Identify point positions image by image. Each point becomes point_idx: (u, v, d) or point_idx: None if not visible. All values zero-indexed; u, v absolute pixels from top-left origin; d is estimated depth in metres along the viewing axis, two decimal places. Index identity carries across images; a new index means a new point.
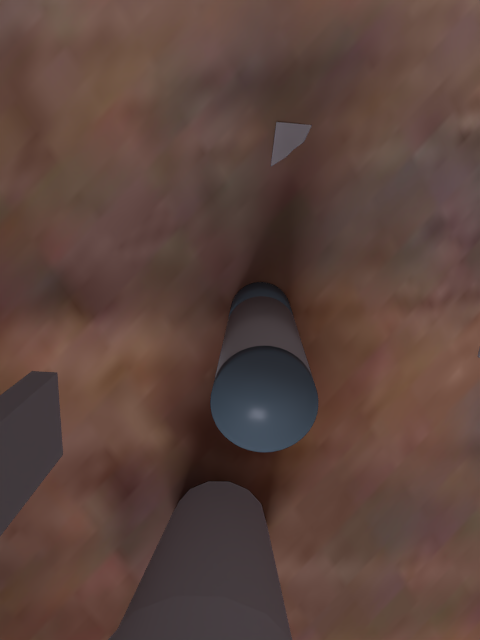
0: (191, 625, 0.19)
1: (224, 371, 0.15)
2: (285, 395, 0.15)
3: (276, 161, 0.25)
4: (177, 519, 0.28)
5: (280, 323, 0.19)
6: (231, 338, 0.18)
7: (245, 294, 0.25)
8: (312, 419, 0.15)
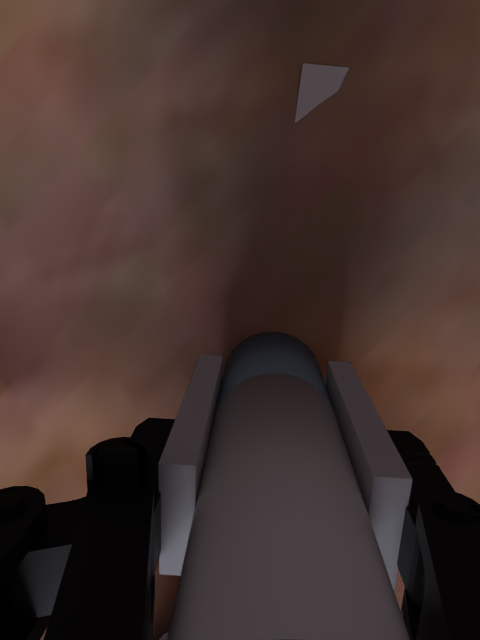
0: None
1: None
2: None
3: None
4: None
5: (322, 475, 0.08)
6: (210, 525, 0.08)
7: (247, 362, 0.14)
8: None
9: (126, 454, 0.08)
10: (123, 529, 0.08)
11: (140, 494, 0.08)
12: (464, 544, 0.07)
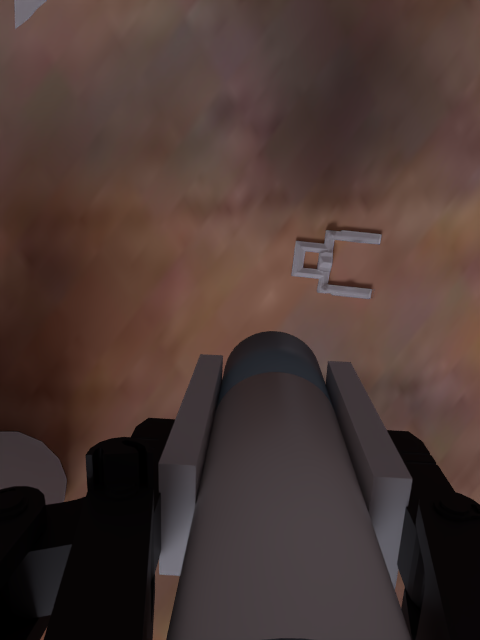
0: None
1: None
2: None
3: None
4: None
5: (323, 474, 0.08)
6: (210, 524, 0.08)
7: (247, 361, 0.14)
8: None
9: (126, 454, 0.08)
10: (123, 529, 0.08)
11: (140, 494, 0.08)
12: (465, 544, 0.07)
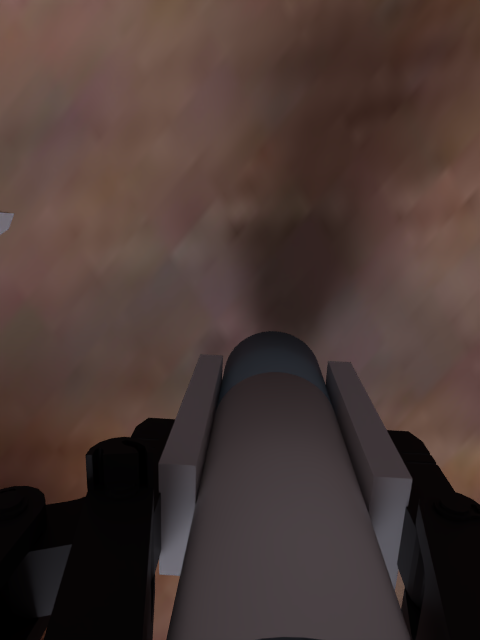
0: None
1: None
2: None
3: None
4: None
5: (322, 474, 0.08)
6: (210, 524, 0.08)
7: (247, 361, 0.14)
8: None
9: (126, 454, 0.08)
10: (123, 529, 0.08)
11: (140, 494, 0.08)
12: (465, 544, 0.07)
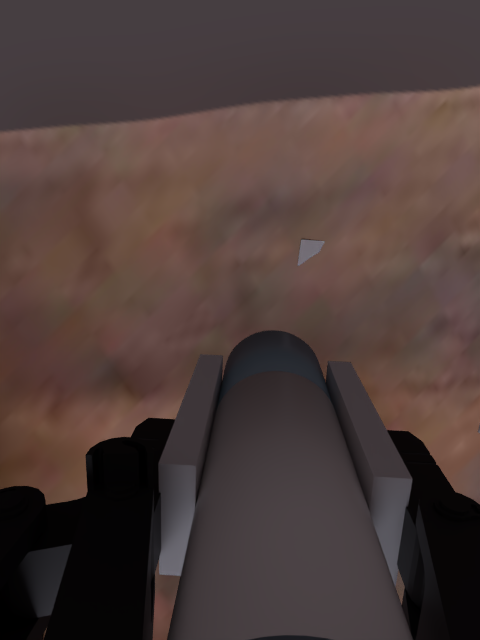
0: None
1: None
2: None
3: None
4: None
5: (324, 472, 0.08)
6: (211, 522, 0.08)
7: (247, 360, 0.14)
8: None
9: (126, 454, 0.08)
10: (123, 529, 0.08)
11: (140, 494, 0.08)
12: (465, 544, 0.07)
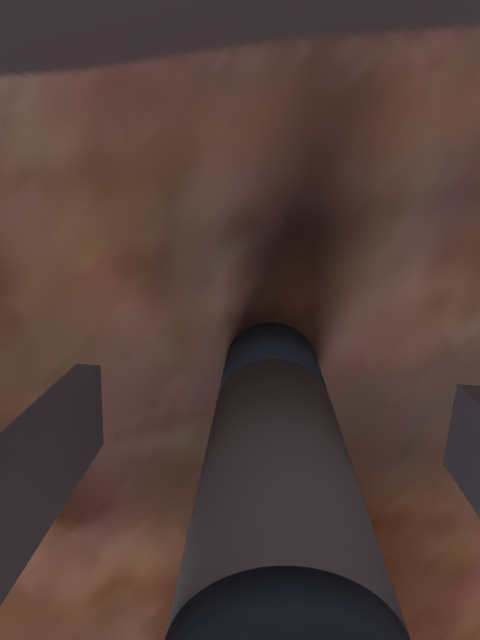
0: None
1: None
2: None
3: None
4: None
5: (315, 444, 0.09)
6: (215, 485, 0.09)
7: (247, 349, 0.15)
8: None
9: None
10: None
11: None
12: None
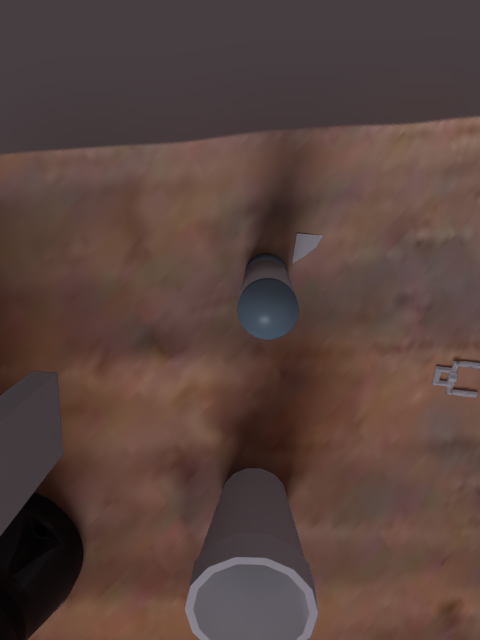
0: (248, 547, 0.32)
1: (245, 291, 0.27)
2: (279, 305, 0.27)
3: (296, 257, 0.39)
4: (228, 492, 0.41)
5: (278, 271, 0.31)
6: (248, 279, 0.30)
7: (255, 259, 0.36)
8: (295, 319, 0.27)
9: None
10: None
11: None
12: None
